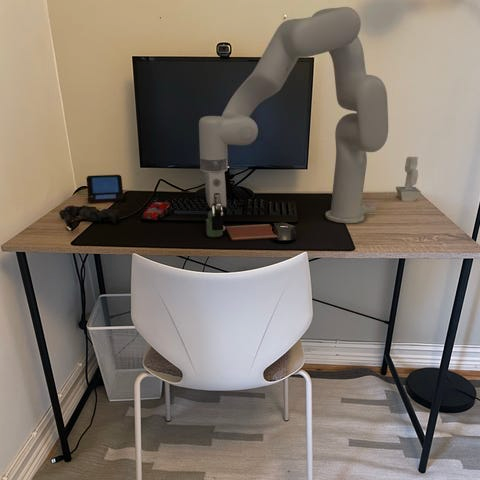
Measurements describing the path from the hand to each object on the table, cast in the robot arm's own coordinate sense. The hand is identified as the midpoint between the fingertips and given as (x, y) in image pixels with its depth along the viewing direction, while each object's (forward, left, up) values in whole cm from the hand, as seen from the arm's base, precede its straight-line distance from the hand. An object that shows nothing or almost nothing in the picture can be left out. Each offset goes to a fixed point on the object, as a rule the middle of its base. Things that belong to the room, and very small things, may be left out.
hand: (215, 224), depth 143 cm
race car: (+16, -21, -3) cm, 27 cm away
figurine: (-75, -27, -3) cm, 80 cm away
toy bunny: (0, 0, -3) cm, 3 cm away
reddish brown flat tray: (-11, 0, -3) cm, 11 cm away
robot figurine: (+38, -20, -3) cm, 43 cm away
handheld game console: (+34, -45, -3) cm, 57 cm away
